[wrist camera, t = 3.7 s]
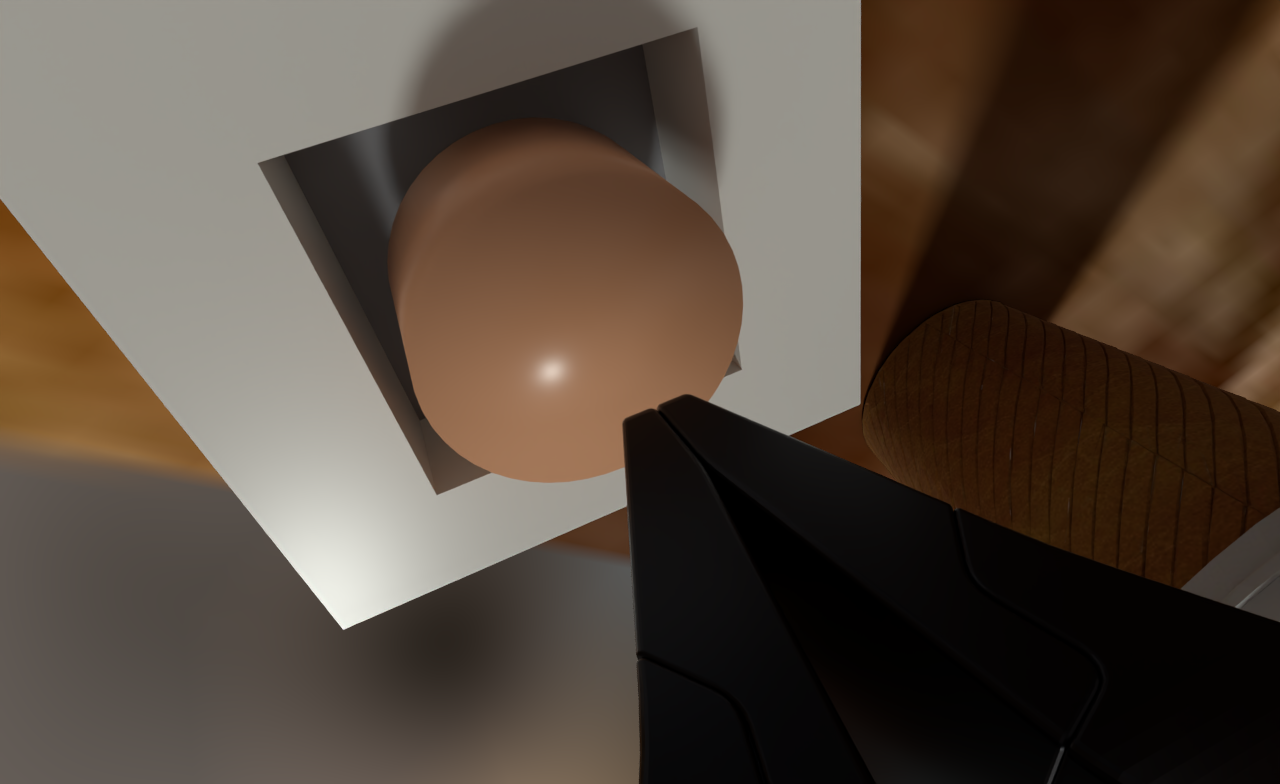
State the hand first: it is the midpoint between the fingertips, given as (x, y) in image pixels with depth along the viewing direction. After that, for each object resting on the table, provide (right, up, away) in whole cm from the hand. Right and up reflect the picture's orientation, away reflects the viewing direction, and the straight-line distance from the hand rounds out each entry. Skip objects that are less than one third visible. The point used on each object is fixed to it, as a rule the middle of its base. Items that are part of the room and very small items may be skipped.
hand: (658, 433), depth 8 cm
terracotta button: (-2, +3, +4) cm, 5 cm away
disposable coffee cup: (+10, +1, +15) cm, 18 cm away
